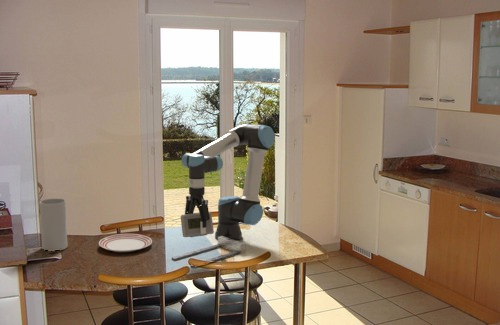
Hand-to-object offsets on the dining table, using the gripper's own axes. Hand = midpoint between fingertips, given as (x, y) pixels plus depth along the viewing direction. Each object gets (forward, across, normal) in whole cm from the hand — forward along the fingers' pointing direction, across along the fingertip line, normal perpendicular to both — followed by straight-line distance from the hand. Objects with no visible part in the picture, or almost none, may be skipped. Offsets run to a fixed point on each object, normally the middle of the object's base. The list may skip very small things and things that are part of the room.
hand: (196, 231), depth 274 cm
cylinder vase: (+14, -64, -42) cm, 78 cm away
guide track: (+14, 0, +8) cm, 16 cm away
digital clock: (+2, +1, 0) cm, 2 cm away
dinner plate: (+15, -41, -14) cm, 46 cm away
